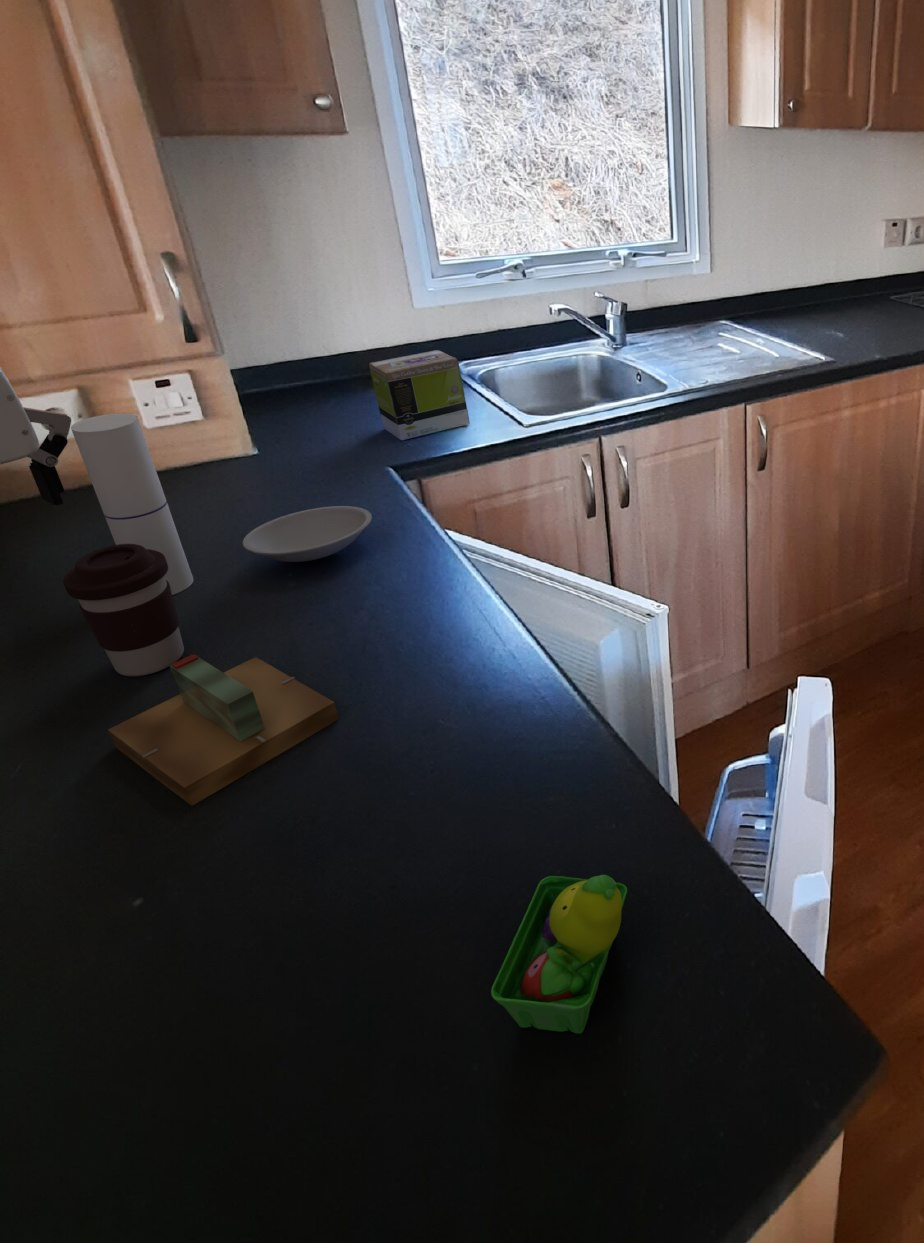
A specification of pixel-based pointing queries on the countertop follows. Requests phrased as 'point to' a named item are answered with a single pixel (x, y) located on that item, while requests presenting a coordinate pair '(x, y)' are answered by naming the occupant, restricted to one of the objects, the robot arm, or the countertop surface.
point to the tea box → (419, 394)
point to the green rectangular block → (217, 697)
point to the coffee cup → (128, 607)
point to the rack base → (222, 733)
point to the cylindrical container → (131, 489)
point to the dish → (308, 533)
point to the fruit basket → (560, 952)
